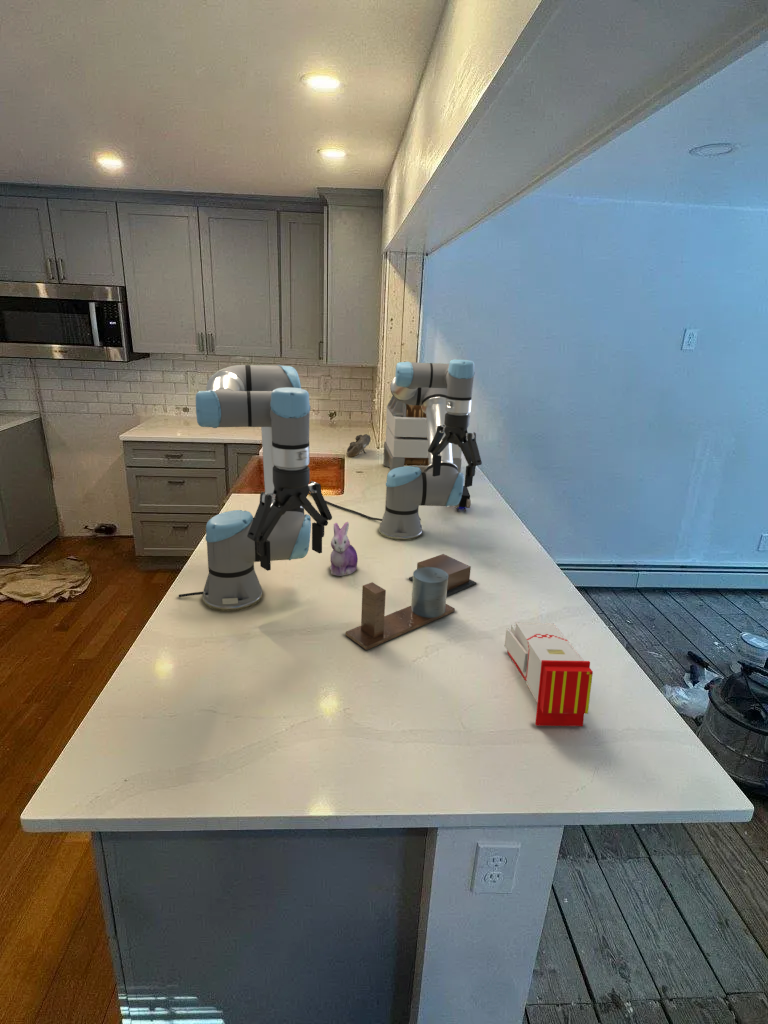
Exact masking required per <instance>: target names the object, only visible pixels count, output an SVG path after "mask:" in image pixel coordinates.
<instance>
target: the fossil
mask: <svg viewBox="0 0 768 1024" xmlns="http://www.w3.org/2000/svg"><path fill="white" fill-rule="evenodd" d="M354 440H355V441H351V442H350V443H349V446H348V447H347V450H346V456H347V457H348V458H352V457H355V456H357V455H359V454H360V453H361V452H363V453H364V454H366V452H365V449H366V448H367V446H369V445H370V443H371V440H372V439H371V436H370V434H367V433H365V434H358V435H356V436H355V438H354Z"/></svg>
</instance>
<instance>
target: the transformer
mask: <svg viewBox="0 0 768 1024" xmlns="http://www.w3.org/2000/svg"><path fill="white" fill-rule="evenodd" d="M385 414H386V415H385V423H386V428H385V438H384V442H383V466H384V467H388V468H389V471H391V470H392V469H395V468H398V467H404V466H413V467H427V466H428V465H429V458H428V439H427V420H426V414H425V413H424V412H423V411H422V406H416V405H408V404H405V403H402V402H400V401H398V400H397V399H395V398H394V396H393V395H391V398H390V400H389V402H388V404H387V405H386V413H385ZM451 444H452V457H453V464H455V465H456V466H457V468H458V473H462V461H463V460H462V454H463V452H462V450H461V448H460V447H459V446H458V445H455V444H453V443H451Z"/></svg>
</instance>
